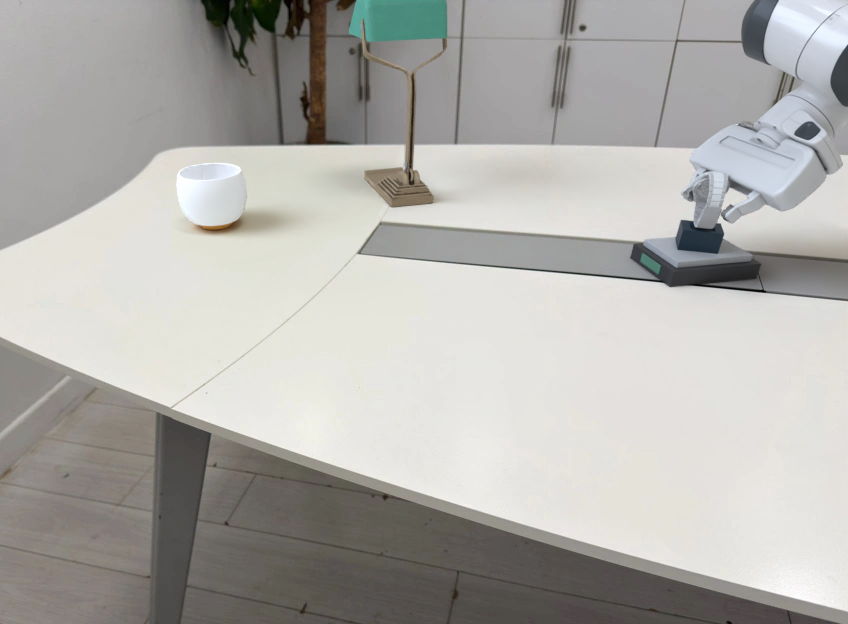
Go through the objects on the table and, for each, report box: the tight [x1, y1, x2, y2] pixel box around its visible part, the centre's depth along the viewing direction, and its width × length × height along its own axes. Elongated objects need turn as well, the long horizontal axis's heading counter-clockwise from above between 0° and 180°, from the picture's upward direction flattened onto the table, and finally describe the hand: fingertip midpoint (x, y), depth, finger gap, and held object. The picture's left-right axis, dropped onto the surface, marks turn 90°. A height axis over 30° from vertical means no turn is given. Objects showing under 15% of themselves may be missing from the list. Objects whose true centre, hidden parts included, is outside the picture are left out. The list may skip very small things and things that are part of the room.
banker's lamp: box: [348, 0, 448, 208], centre depth 129 cm, size 16×21×35 cm
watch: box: [675, 171, 730, 254], centre depth 99 cm, size 6×8×11 cm
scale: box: [630, 236, 762, 287], centre depth 103 cm, size 14×11×3 cm
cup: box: [175, 162, 248, 231], centre depth 120 cm, size 12×12×10 cm
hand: (704, 208), depth 98 cm, fingers open, 8 cm apart
